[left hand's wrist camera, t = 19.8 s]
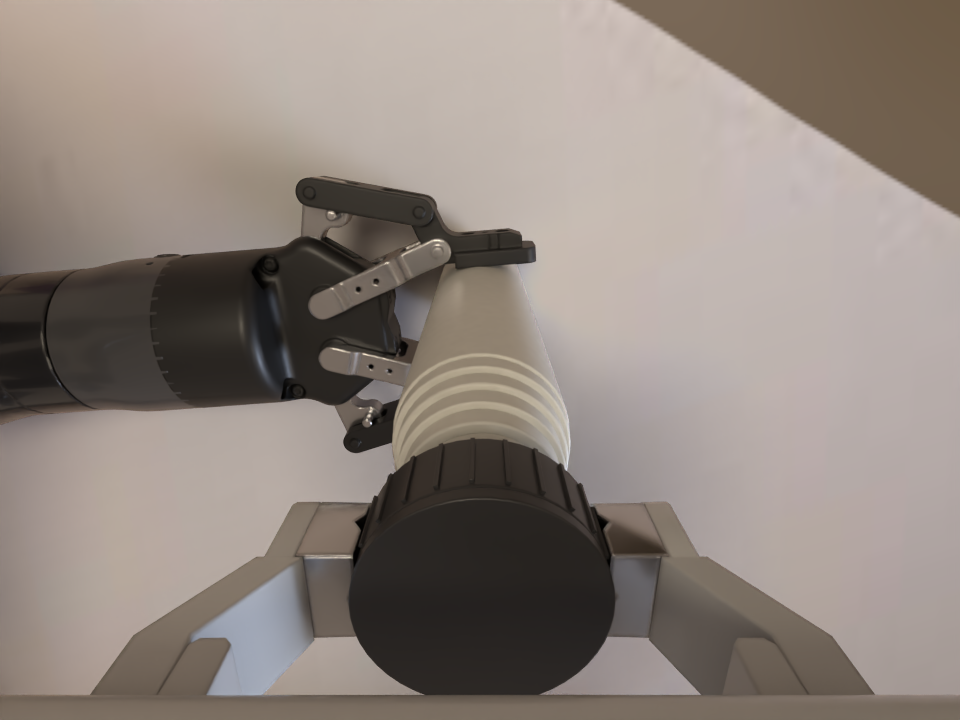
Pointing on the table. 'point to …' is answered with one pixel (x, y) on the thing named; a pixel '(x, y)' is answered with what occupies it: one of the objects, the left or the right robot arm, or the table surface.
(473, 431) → the bottle
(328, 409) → the table surface
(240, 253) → the right robot arm
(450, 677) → the cap
